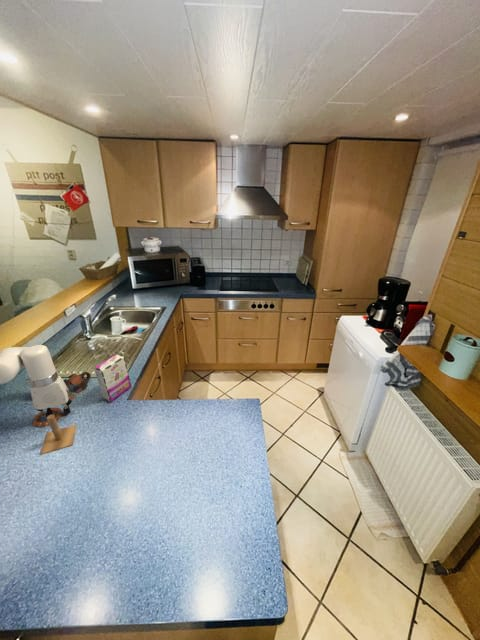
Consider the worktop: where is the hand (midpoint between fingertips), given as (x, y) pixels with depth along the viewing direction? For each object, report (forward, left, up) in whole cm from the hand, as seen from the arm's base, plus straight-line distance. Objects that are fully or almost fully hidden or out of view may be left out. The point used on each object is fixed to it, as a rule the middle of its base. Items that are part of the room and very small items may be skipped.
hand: (59, 415), depth 97 cm
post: (+2, -13, 0) cm, 13 cm away
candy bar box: (+20, +6, -1) cm, 21 cm away
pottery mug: (+4, +16, -1) cm, 17 cm away
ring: (-4, 0, +1) cm, 4 cm away
